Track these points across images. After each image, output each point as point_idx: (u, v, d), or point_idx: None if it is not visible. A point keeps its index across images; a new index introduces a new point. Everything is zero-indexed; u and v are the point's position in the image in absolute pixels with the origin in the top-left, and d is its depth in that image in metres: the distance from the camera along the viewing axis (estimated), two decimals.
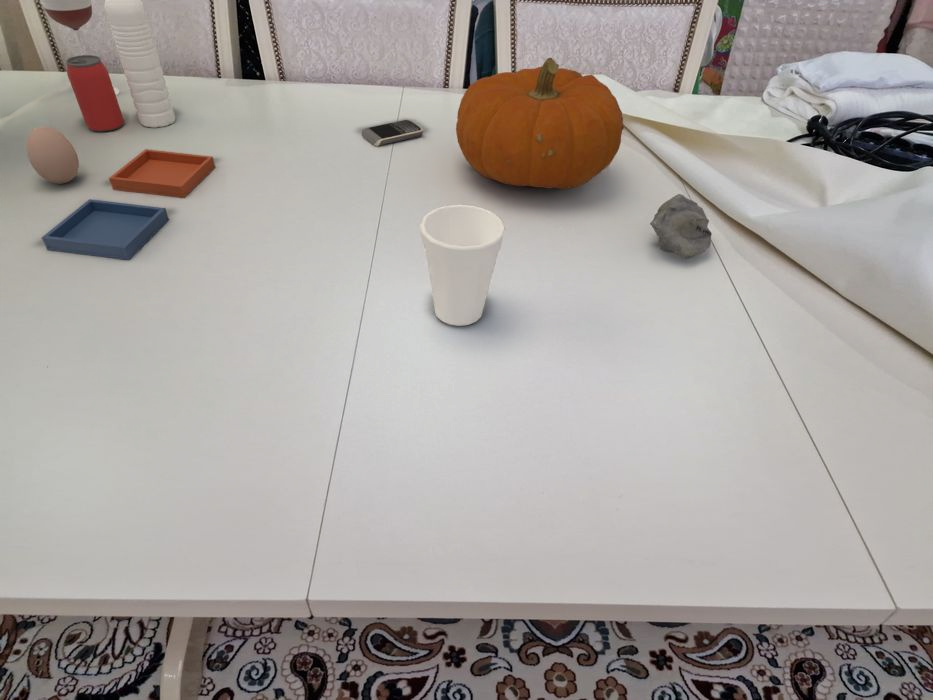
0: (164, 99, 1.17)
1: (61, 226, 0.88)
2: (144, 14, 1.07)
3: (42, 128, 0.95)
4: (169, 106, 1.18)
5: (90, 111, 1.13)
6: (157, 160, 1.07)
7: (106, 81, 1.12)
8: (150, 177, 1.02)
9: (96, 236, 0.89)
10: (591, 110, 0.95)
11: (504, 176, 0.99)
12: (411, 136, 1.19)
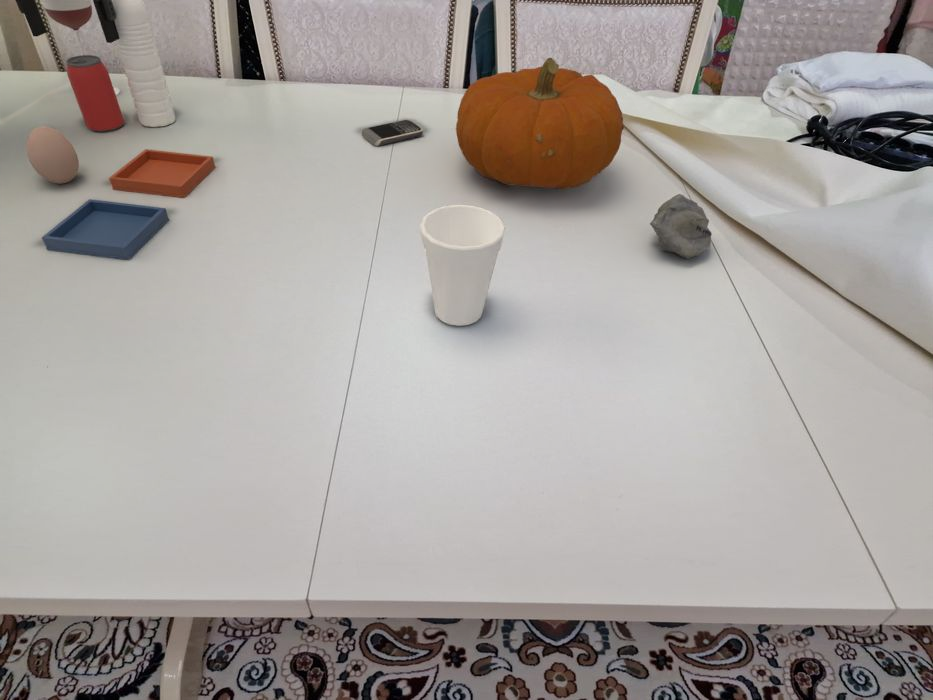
0: (165, 99, 1.17)
1: (61, 226, 0.88)
2: (145, 13, 1.07)
3: (42, 128, 0.95)
4: (169, 106, 1.18)
5: (90, 111, 1.13)
6: (157, 160, 1.07)
7: (106, 81, 1.12)
8: (150, 177, 1.02)
9: (96, 236, 0.89)
10: (591, 110, 0.95)
11: (504, 176, 0.99)
12: (411, 136, 1.19)
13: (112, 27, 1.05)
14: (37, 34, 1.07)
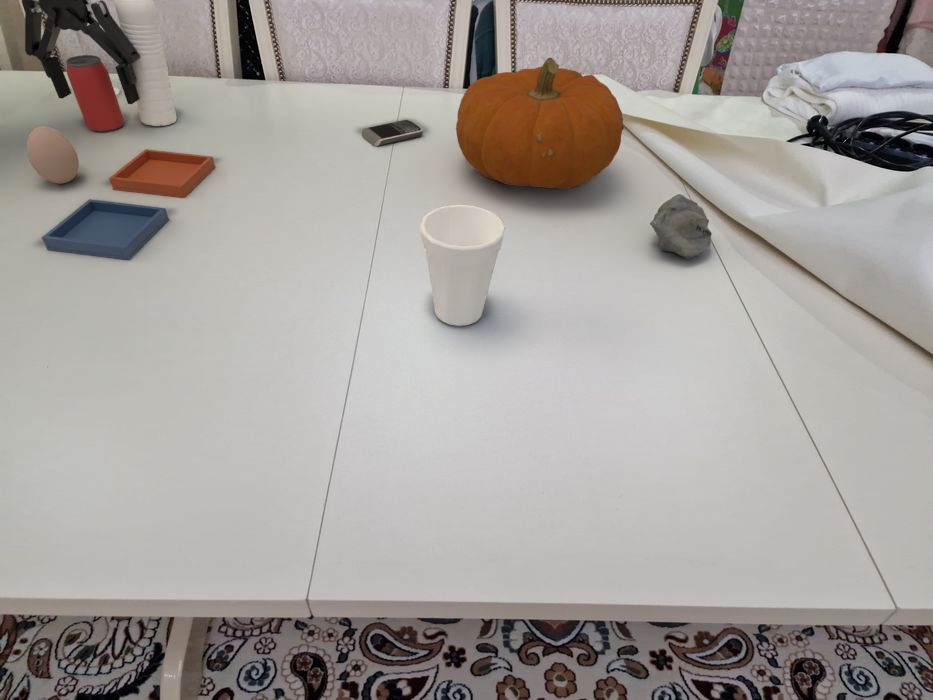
0: (168, 98, 1.17)
1: (61, 226, 0.88)
2: (155, 14, 1.08)
3: (42, 128, 0.95)
4: (172, 106, 1.18)
5: (90, 111, 1.13)
6: (157, 160, 1.07)
7: (106, 81, 1.12)
8: (150, 177, 1.02)
9: (96, 236, 0.89)
10: (591, 110, 0.95)
11: (504, 176, 0.99)
12: (411, 136, 1.19)
13: (132, 90, 1.12)
14: (62, 96, 1.14)
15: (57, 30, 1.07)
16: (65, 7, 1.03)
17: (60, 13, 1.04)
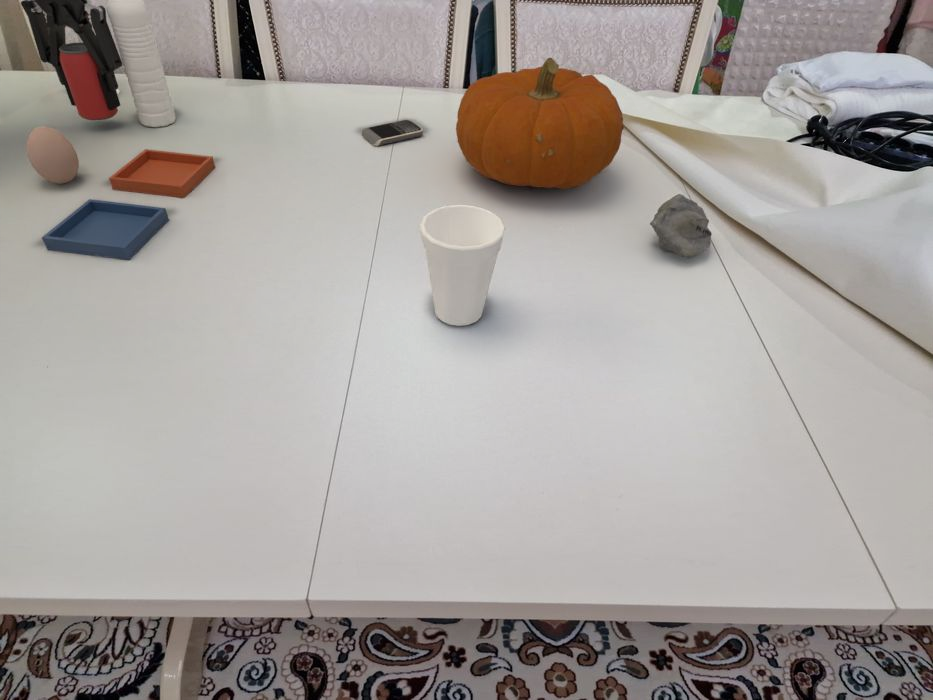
0: (165, 99, 1.16)
1: (61, 226, 0.88)
2: (146, 15, 1.07)
3: (42, 128, 0.95)
4: (170, 106, 1.18)
5: (83, 99, 1.11)
6: (157, 160, 1.07)
7: None
8: (150, 177, 1.02)
9: (96, 236, 0.89)
10: (591, 110, 0.95)
11: (504, 176, 0.99)
12: (411, 136, 1.19)
13: (114, 96, 1.14)
14: None
15: (62, 30, 1.07)
16: (62, 3, 1.02)
17: (56, 8, 1.03)
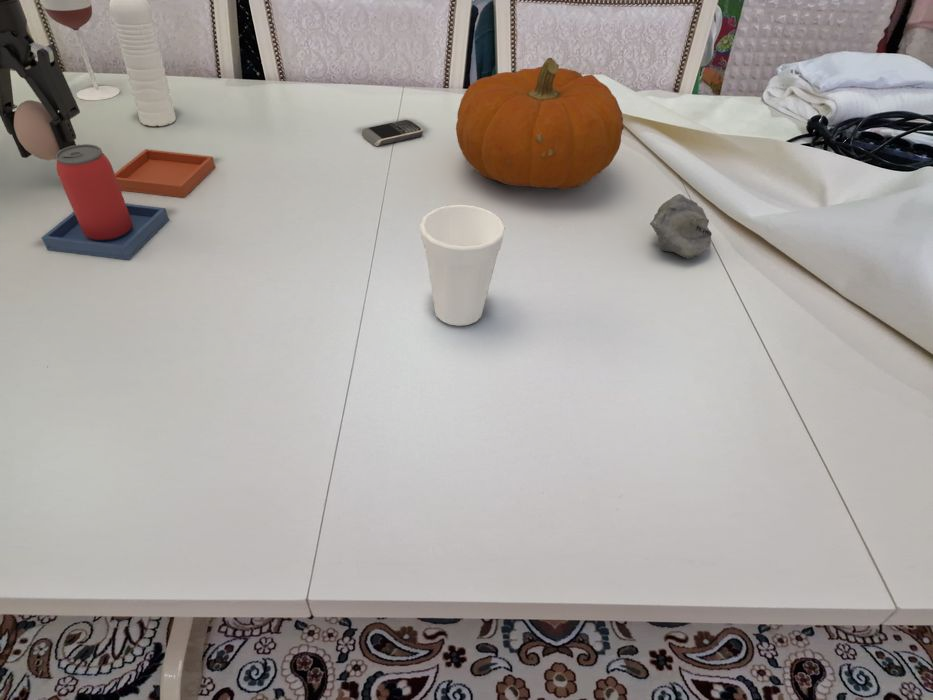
0: (164, 99, 1.16)
1: (61, 226, 0.88)
2: (147, 13, 1.07)
3: (30, 102, 0.92)
4: (169, 106, 1.18)
5: (88, 218, 0.85)
6: (157, 160, 1.07)
7: (110, 179, 0.84)
8: (150, 177, 1.02)
9: None
10: (591, 110, 0.95)
11: (504, 176, 0.99)
12: (411, 136, 1.19)
13: None
14: (26, 155, 0.97)
15: (6, 73, 0.90)
16: (3, 43, 0.86)
17: None
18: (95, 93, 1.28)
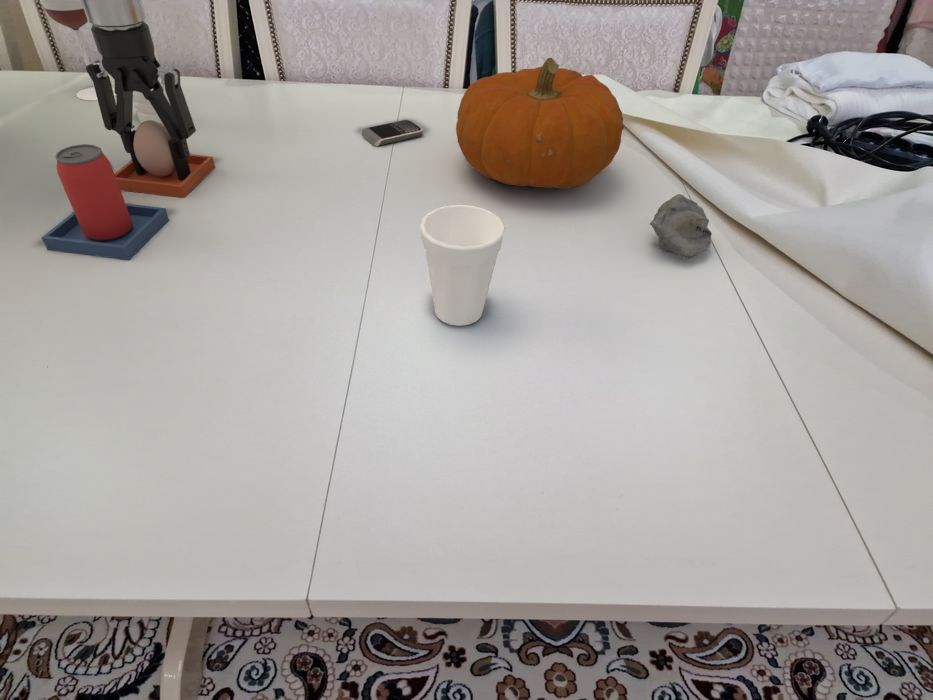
0: None
1: (61, 226, 0.88)
2: None
3: (150, 122, 0.97)
4: None
5: (88, 218, 0.85)
6: None
7: (110, 179, 0.84)
8: (150, 177, 1.02)
9: None
10: (591, 110, 0.95)
11: (504, 176, 0.99)
12: (411, 136, 1.19)
13: (184, 164, 1.02)
14: (141, 172, 1.02)
15: (130, 95, 0.95)
16: (132, 68, 0.90)
17: (126, 73, 0.91)
18: (95, 93, 1.28)
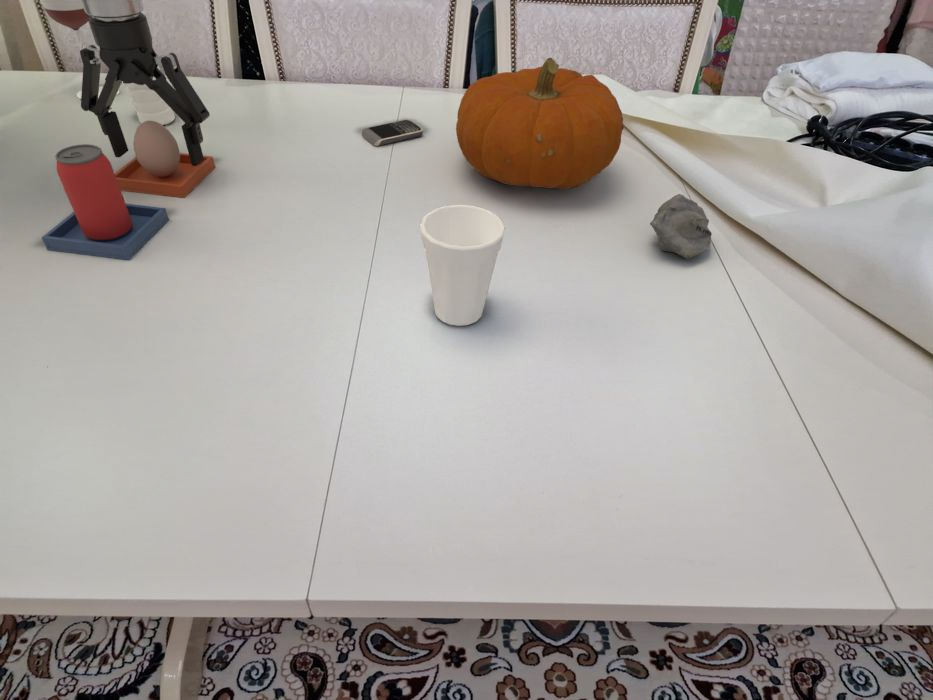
0: (159, 99, 1.16)
1: (61, 226, 0.88)
2: None
3: (150, 122, 0.97)
4: (164, 106, 1.17)
5: (88, 218, 0.85)
6: None
7: (110, 179, 0.84)
8: (150, 177, 1.02)
9: None
10: (591, 110, 0.95)
11: (504, 176, 0.99)
12: (411, 136, 1.19)
13: (198, 150, 0.99)
14: (119, 155, 1.01)
15: (119, 83, 0.94)
16: (130, 59, 0.90)
17: (123, 65, 0.90)
18: None
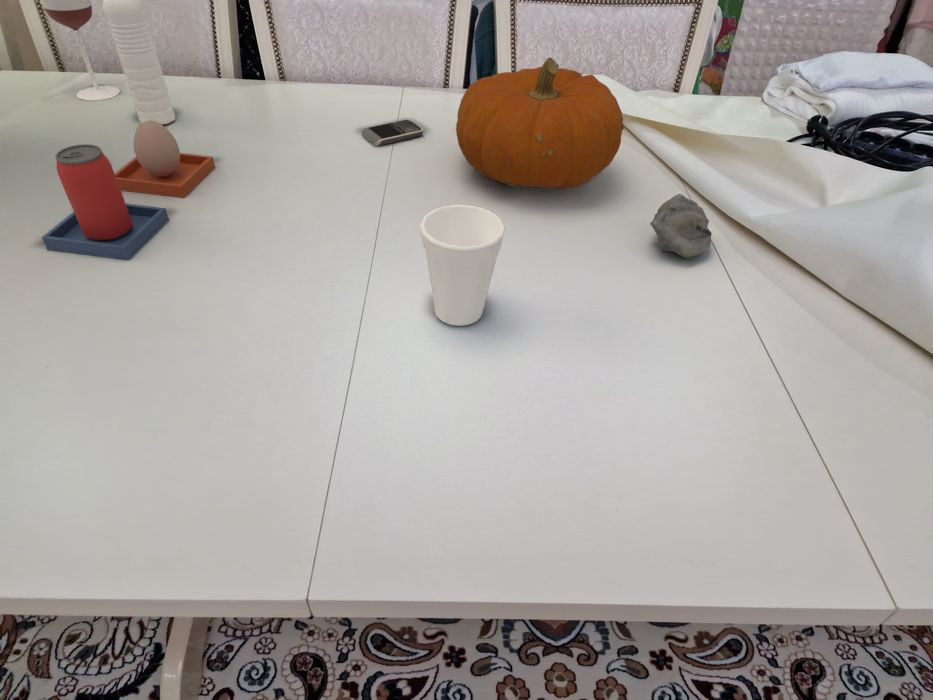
0: (159, 99, 1.16)
1: (61, 226, 0.88)
2: (137, 13, 1.07)
3: (150, 122, 0.97)
4: (164, 106, 1.17)
5: (88, 218, 0.85)
6: None
7: (110, 179, 0.84)
8: (150, 177, 1.02)
9: None
10: (591, 110, 0.95)
11: (504, 176, 0.99)
12: (411, 136, 1.19)
13: None
14: None
15: None
16: None
17: None
18: (95, 93, 1.28)
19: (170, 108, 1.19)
